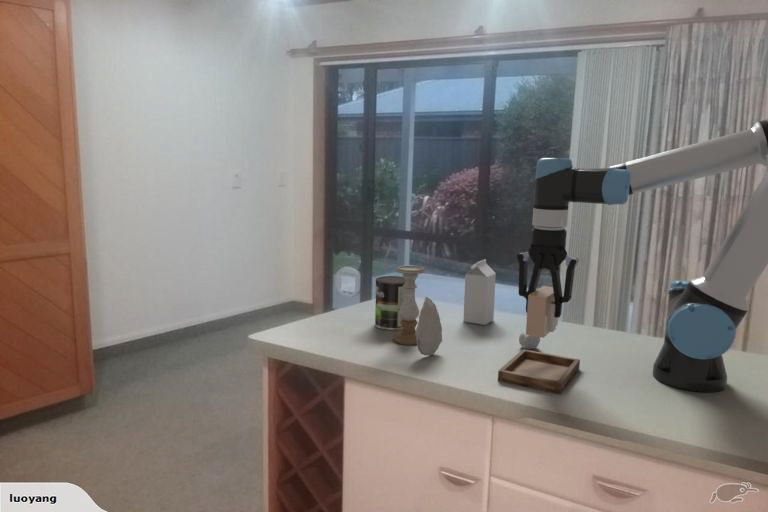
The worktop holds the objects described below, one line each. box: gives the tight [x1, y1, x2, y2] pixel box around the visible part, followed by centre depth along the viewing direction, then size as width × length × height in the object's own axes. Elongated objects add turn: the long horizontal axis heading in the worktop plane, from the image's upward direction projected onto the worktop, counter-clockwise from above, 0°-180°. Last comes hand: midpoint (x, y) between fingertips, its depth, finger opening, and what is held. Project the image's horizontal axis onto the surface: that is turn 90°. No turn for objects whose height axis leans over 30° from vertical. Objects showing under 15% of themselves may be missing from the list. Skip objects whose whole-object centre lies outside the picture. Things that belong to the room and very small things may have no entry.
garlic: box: [518, 331, 541, 350], centre depth 154 cm, size 6×5×5 cm
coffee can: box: [374, 275, 405, 331], centre depth 172 cm, size 10×10×14 cm
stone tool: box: [415, 296, 443, 356], centre depth 146 cm, size 9×3×15 cm, turn 140°
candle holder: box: [392, 265, 425, 346], centre depth 157 cm, size 9×9×20 cm
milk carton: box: [463, 258, 497, 326], centre depth 178 cm, size 7×7×19 cm
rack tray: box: [497, 348, 581, 395], centre depth 135 cm, size 14×18×2 cm
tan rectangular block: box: [525, 285, 559, 339], centre depth 133 cm, size 4×12×9 cm, turn 149°
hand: (542, 328), depth 133 cm, fingers closed on tan rectangular block, 4 cm apart
